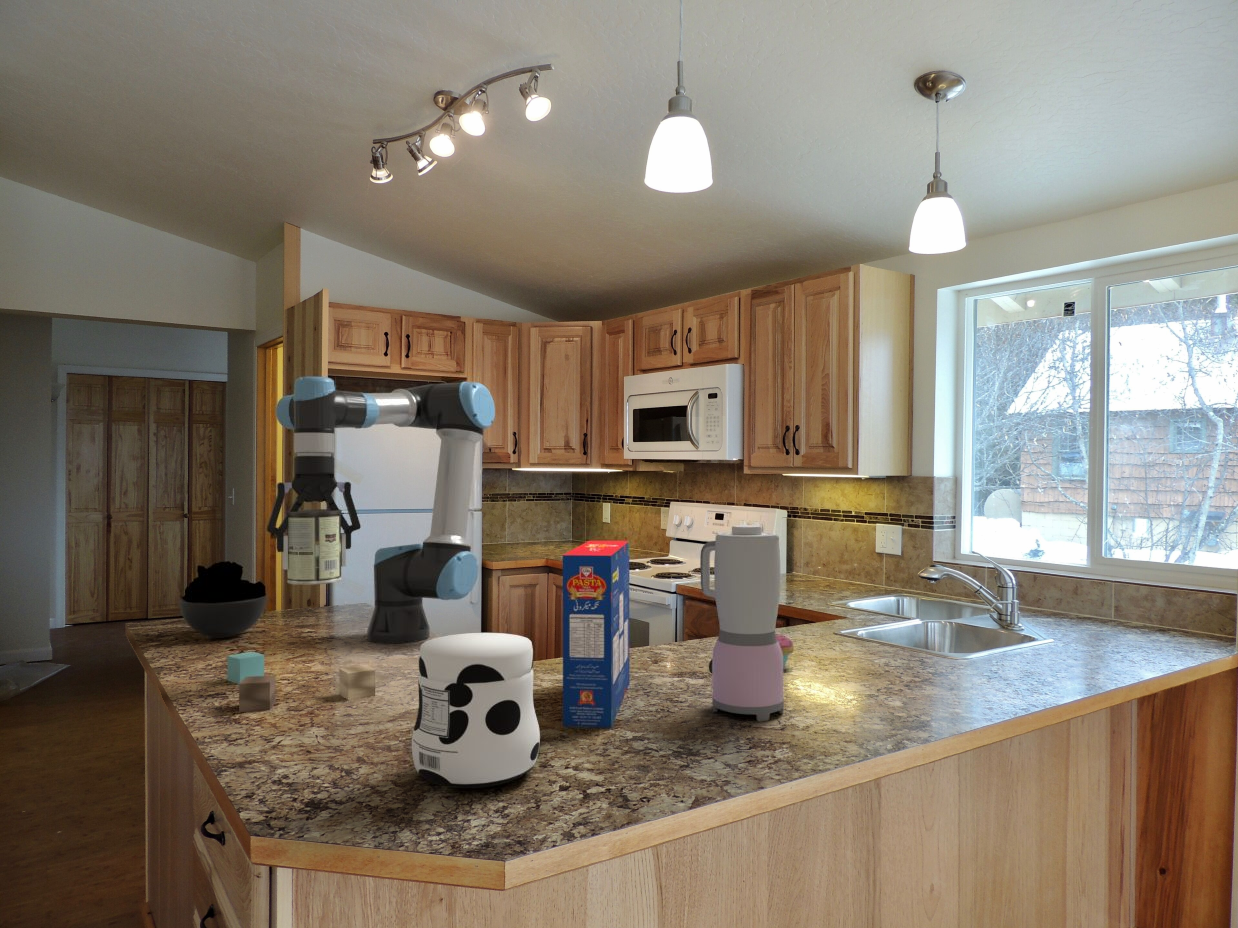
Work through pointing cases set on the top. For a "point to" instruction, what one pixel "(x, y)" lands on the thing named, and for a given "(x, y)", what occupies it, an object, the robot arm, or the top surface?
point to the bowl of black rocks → (222, 601)
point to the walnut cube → (257, 693)
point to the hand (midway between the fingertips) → (314, 567)
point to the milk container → (475, 710)
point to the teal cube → (244, 666)
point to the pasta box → (595, 632)
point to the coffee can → (314, 546)
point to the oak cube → (356, 682)
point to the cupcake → (785, 647)
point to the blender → (745, 621)
